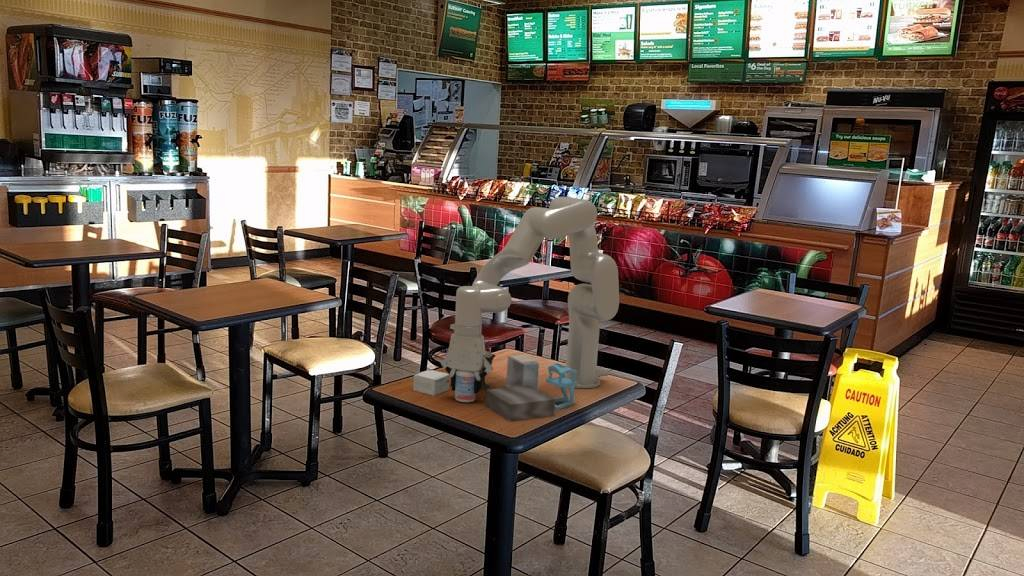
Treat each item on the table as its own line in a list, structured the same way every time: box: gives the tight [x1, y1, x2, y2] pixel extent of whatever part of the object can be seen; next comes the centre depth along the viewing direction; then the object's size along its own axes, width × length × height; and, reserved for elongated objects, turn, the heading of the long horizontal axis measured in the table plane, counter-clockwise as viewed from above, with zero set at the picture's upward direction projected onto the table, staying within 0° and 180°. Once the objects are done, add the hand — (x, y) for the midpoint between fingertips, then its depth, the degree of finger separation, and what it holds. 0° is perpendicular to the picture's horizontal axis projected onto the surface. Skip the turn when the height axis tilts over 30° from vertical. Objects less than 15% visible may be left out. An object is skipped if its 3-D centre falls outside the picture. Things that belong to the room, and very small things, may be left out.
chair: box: [545, 362, 577, 411], centre depth 225 cm, size 8×8×12 cm
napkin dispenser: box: [505, 354, 540, 390], centre depth 234 cm, size 5×10×10 cm, turn 29°
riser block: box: [485, 385, 556, 422], centre depth 218 cm, size 14×14×5 cm
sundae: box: [481, 340, 496, 390], centre depth 237 cm, size 7×7×15 cm
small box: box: [412, 369, 450, 397], centre depth 231 cm, size 8×8×5 cm
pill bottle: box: [454, 370, 477, 403], centre depth 223 cm, size 6×6×11 cm
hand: (465, 390), depth 224 cm, fingers closed on pill bottle, 6 cm apart
